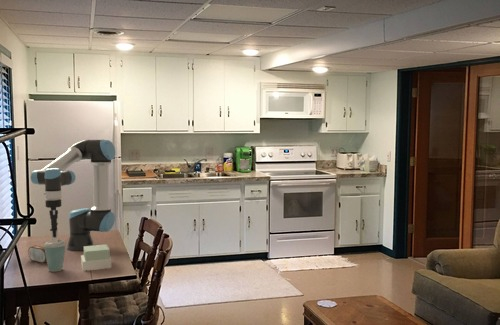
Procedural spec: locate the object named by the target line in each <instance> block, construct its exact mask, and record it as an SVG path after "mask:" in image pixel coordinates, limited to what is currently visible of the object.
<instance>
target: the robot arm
mask: <svg viewBox="0 0 500 325" xmlns="http://www.w3.org/2000/svg"><path fill="white" fill-rule="evenodd" d="M115 157H116V147H115V145H114V143H113V142H112V141H111V140H110V139H83V140H81V141H79V142H76V143H74V144H72V146H71V145H70V147H69V148H67V150H66V152H64V153H63V154H61V155H60V156H59V157H57V158H56V159H55V160H53V161H52V162H51V163H49V164H47V165H46V166H45V167H43V168H42V169H37V170H36V169H35V170H33V171H32V172H31V174H30V181H31V182H32V184H34V185H40V186H41V185H42V186H44V187H45V189H44V193H43V195H45V208H48V209H49V208H50V210H49V219H50V229H49V231H50V238H51V241H52V244H56V243H58V240H59V238H58V224H59V223H58V219H59V218H58V217H59V216H58V215H59V211H58V209H57V208H60V207H62V187H63V186H69V185H72V184H74V183H75V181H76V174H75V172H74V171H72V170H70V169H68V168H70V167H71V166H72V165H73V164H75V163H78V162H80V161H82V160H90V163H91V164H92V165H93V174H92V177H93V180H92V181H93V186H92V187H93V188H92V189H93V190H92V196H93V197H92V200H93V201H92V207H90V208H89V207H88V208H87V207H85V208H79V209H73V210H70V212H69V217H68V220H69V224H68V225H69V237H68V241H67V244H66V248H67V250H69V251H84V247H83V246H94V241H93V238H92V235H91V232H100V233H102V232H103V233H105V232H110V231H111V230H112V228H113V227H114V224H115V222H116V221H115V220H116V216H115V213H114V212H112V211H111V210H112V209H111V207H110V206H109V165H111V164H112V161H113V160H114V159H115ZM67 169H68V170H67Z"/></svg>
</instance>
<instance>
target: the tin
mask: <svg viewBox="0 0 500 325" xmlns="http://www.w3.org/2000/svg"><path fill="white" fill-rule="evenodd" d="M27 252H28V257H29V259H30V260H31V261H32V262H35V263H36V262H37V263H41V264H43V263H47V259H46V254H45V249H44V246H40V245H36V244H35V245H31V246H30V247H29V248H28V250H27Z"/></svg>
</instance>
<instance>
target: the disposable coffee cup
mask: <svg viewBox="0 0 500 325" xmlns="http://www.w3.org/2000/svg"><path fill="white" fill-rule="evenodd" d="M66 246H67V244H66V242H65V240H64V239H58V243H56V244H52V240H49V241H46V242H45V243H44V244H43V247H44V249H45V254H46V259H47V262H46V264H47V269H48V271H49V272H54V273H55V272H60V271H63V268H64V262H65V261H64V260H65V252H66Z"/></svg>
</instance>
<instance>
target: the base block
mask: <svg viewBox="0 0 500 325" xmlns="http://www.w3.org/2000/svg"><path fill="white" fill-rule="evenodd" d="M80 264H81V270H82V271H83V272H85V271H86V270H87V271H94V270H95V271H96V270H105V268H106V269H112V258H111V257H110V259H105V260H95V261H85V258H84V254H80Z"/></svg>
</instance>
